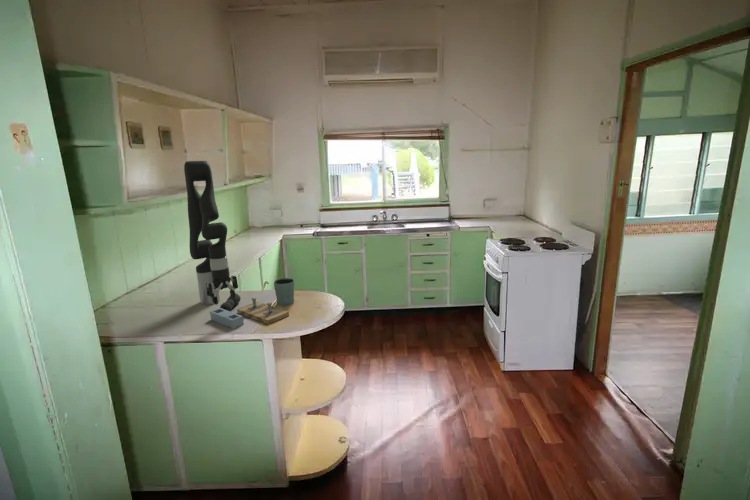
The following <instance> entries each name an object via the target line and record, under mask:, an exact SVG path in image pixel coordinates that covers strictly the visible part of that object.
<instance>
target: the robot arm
mask: <svg viewBox="0 0 750 500" xmlns="http://www.w3.org/2000/svg"><path fill="white" fill-rule="evenodd" d="M183 167H184V168H183V171H184V178H185V184H186V185H185V186H186V187H185V188H186V192H187V193H186V195H187V215H188V227H189V254H190V257H191V259H193V260H201V259H205V260H204V261H202V262H201V263H199V264H197V265H196V266H195V272H196V279H197V288H198V294H199V299H200V304H201V305H204V306H206V305H207V306H209V305H216V306H217V305H219V302H220V301H221V299H220V294H219V293H220V291H222V290H224V289H227V288H228V290H229V293H230V294H229V297H230V296H231V298H232V299H234V298H235V293H236V292H235V291H236V289H238V288H239V284H238V278H237V276H236V275H231V276H230V273H231V272H230V267H229V261H228V257H227V249H226V245H227V244H226V242H227V241H226V240H227V236H228V227H227V225H226V223H224V222H221V221H220V222H215V221H216V220H218V219H219V217H220V214H219V210H218V205H217V203H216V197H215V189H214V181H213V173H212V168H211V165H210V163H209V161H208V160H186V161H185V163H184V165H183ZM195 182H205V187H204V189H203V192H202V194H200V193H199V192H198V189H197V188H196V186H195ZM211 222H212V223H211ZM200 235H201V236H202V238H203V239H201V240H199V238H200ZM211 240H218V241H216V242H215V243H213V241H211ZM231 282H232V284H231Z"/></svg>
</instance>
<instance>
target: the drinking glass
mask: <svg viewBox="0 0 750 500" xmlns="http://www.w3.org/2000/svg"><path fill="white" fill-rule="evenodd" d="M273 286H274V291H275V297H276V304H277V306H279V307H288V306H291V305H293V304H294V303H295V291H294V290H295V279H294V278H290V277H284V278H278V279H276V280H275V279H274V281H273Z"/></svg>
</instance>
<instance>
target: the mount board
mask: <svg viewBox="0 0 750 500" xmlns="http://www.w3.org/2000/svg"><path fill="white" fill-rule="evenodd" d="M250 299H251V301H252V303H250V304H247V305H245V306H242V307H239V308H237V309H236V311H237V314H238V315H241V316H243V317H247V318H250V319H253V320H256V321H259V322H261V323H263V324H265V325H270V324H273V323H275V322H278V321H280V320H282V319H284V318H286V317H289V316H290V311H288V310H285V309H282V308H279V307H276V306H273V303H272V302H271V301H269V302H266V303H263V302H260V301H256V300H257V297H254V296H253V297H251V298H250Z"/></svg>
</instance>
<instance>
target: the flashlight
mask: <svg viewBox="0 0 750 500" xmlns="http://www.w3.org/2000/svg"><path fill="white" fill-rule="evenodd" d="M239 302H241V295H240V294H239V293H237V292H235V298H234V299H232V298H231V296H230V295H229V297H228V298H227V299H226V301H224V302H223V303H222V304H221V305H220V306H219V308H222V309H225V310H228V311H230V312H232V309H233V307H236V305H238V303H239Z"/></svg>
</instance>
